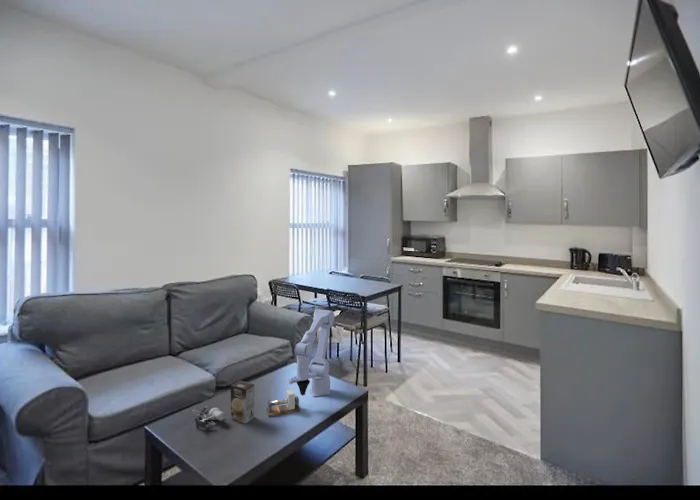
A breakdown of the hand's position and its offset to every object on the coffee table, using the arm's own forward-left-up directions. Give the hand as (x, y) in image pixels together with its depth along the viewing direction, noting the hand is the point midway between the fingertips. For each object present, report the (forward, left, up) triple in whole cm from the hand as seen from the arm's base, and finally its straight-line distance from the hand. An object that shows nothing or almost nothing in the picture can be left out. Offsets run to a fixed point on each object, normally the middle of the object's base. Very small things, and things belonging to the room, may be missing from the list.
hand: (302, 394), depth 183 cm
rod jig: (+9, 0, -7) cm, 11 cm away
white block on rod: (+6, 0, -5) cm, 8 cm away
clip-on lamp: (+44, -2, -7) cm, 44 cm away
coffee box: (+28, 0, -7) cm, 29 cm away
